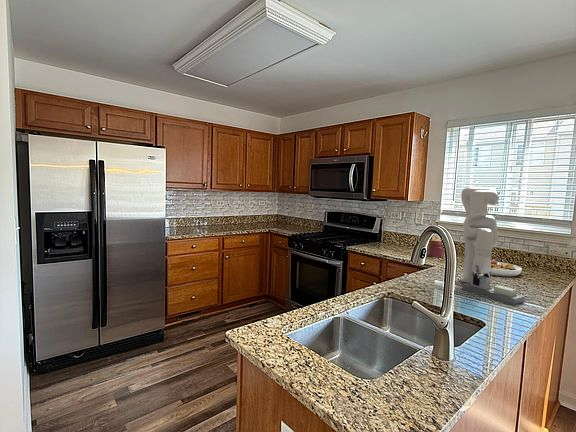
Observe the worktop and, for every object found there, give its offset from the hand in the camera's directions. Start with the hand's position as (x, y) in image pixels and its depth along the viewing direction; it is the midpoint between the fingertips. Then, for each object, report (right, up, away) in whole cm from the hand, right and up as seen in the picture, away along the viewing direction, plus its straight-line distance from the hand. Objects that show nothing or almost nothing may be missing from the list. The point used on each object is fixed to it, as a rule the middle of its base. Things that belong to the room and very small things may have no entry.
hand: (480, 284), depth 171 cm
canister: (+22, +2, +100) cm, 102 cm away
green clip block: (+6, -6, -10) cm, 13 cm away
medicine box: (0, -5, 0) cm, 5 cm away
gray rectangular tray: (+3, -5, -5) cm, 8 cm away
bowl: (+40, -3, +50) cm, 64 cm away
